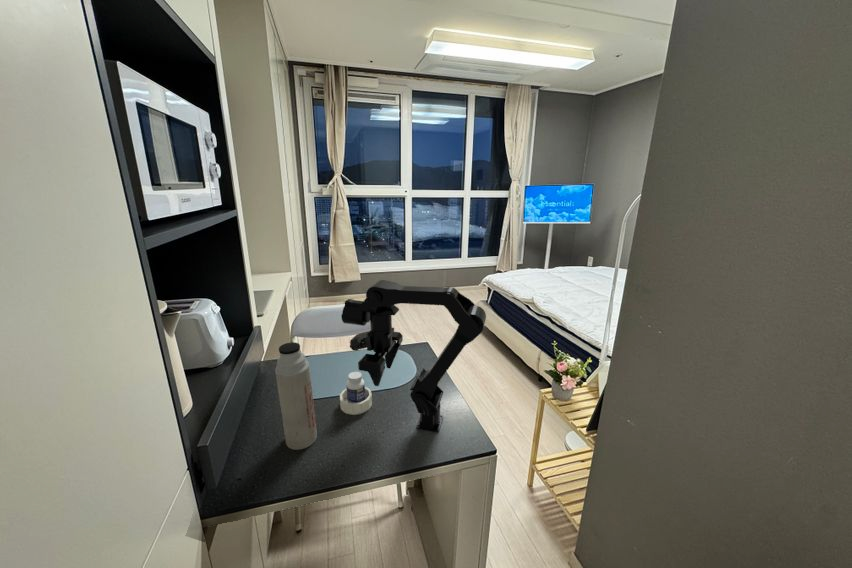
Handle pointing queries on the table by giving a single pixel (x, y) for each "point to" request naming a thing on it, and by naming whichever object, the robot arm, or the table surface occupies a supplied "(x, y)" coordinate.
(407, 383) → the table surface
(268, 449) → the table surface
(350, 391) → the pill bottle
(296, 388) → the thermos bottle
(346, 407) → the bowl
